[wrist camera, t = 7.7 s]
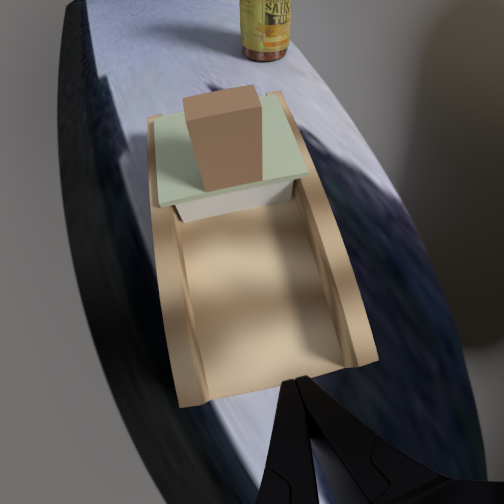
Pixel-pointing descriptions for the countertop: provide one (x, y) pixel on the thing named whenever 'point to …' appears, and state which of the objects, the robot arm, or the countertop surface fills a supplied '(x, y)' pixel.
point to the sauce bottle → (265, 28)
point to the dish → (235, 201)
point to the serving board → (256, 291)
